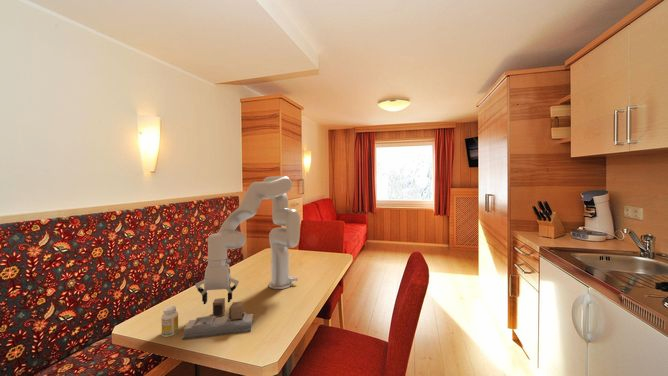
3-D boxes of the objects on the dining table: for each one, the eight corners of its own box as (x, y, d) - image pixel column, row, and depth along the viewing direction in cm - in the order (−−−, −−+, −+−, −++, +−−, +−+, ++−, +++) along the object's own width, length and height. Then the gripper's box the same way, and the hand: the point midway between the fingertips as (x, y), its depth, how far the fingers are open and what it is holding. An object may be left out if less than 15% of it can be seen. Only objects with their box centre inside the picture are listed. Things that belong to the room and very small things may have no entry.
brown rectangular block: (215, 312, 114) (215, 298, 114) (225, 311, 115) (224, 297, 114) (212, 317, 109) (212, 303, 109) (222, 316, 110) (222, 302, 110)
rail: (253, 317, 109) (253, 297, 109) (250, 331, 99) (250, 308, 99) (191, 324, 104) (190, 303, 104) (182, 339, 94) (181, 315, 94)
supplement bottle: (164, 339, 95) (163, 313, 94) (159, 333, 98) (159, 308, 98) (180, 332, 99) (180, 307, 99) (175, 327, 102) (174, 303, 102)
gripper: (240, 259, 117) (239, 296, 117) (198, 260, 113) (198, 299, 114) (237, 264, 109) (237, 304, 110) (192, 266, 106) (192, 307, 106)
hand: (217, 302), depth 112 cm, fingers open, 9 cm apart
